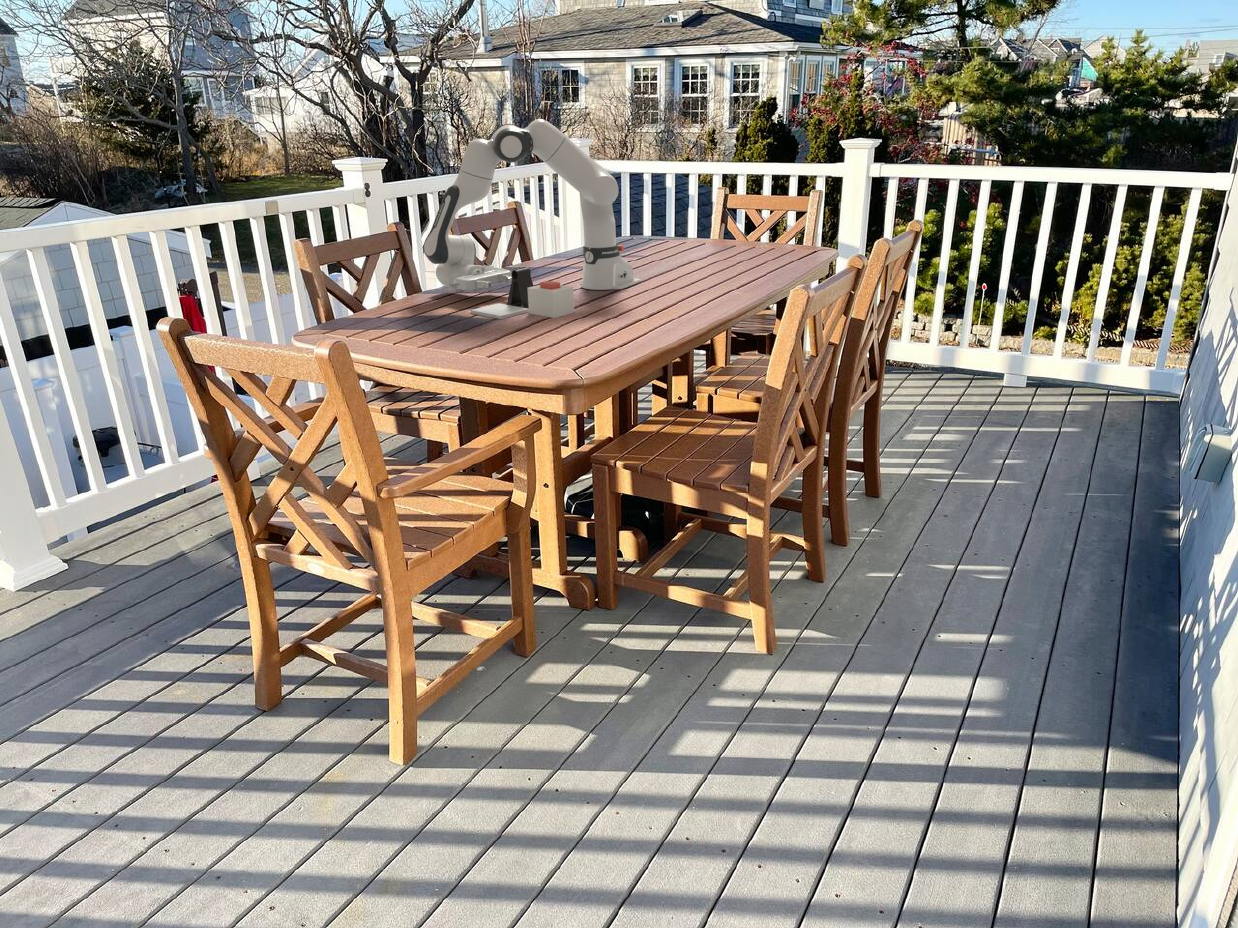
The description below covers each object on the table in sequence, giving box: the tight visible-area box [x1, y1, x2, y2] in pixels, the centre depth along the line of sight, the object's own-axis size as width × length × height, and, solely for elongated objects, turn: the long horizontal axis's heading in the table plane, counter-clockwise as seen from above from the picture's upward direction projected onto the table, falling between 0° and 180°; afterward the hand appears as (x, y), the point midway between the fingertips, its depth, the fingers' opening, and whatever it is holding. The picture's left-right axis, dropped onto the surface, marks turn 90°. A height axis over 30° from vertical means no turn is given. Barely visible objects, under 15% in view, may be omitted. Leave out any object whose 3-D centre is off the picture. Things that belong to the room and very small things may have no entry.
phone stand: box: [506, 267, 535, 309], centre depth 289 cm, size 9×6×12 cm, turn 54°
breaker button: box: [539, 280, 561, 290], centre depth 278 cm, size 4×5×3 cm
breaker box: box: [527, 284, 575, 319], centre depth 279 cm, size 9×11×8 cm
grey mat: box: [470, 302, 529, 320], centre depth 283 cm, size 12×14×1 cm
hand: (500, 282), depth 295 cm, fingers open, 8 cm apart
